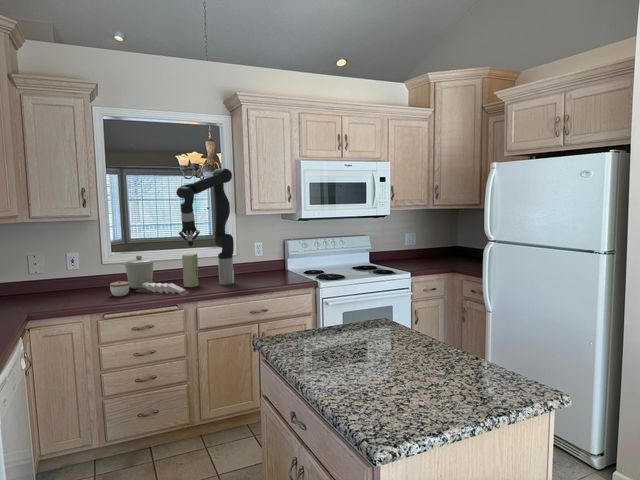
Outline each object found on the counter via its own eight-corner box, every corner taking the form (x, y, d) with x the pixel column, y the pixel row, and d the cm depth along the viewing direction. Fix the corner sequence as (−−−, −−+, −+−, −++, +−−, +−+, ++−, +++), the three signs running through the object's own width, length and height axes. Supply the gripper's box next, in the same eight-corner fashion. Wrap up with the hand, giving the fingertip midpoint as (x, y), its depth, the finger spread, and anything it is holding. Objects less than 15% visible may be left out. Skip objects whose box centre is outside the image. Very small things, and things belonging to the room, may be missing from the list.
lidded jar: (111, 298, 261) (109, 283, 260) (110, 295, 271) (109, 279, 270) (131, 296, 266) (129, 280, 265) (129, 293, 276) (128, 277, 274)
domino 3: (167, 289, 275) (153, 282, 277) (162, 290, 270) (148, 284, 272) (166, 291, 275) (152, 284, 277) (161, 293, 271) (147, 286, 273)
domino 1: (154, 288, 277) (140, 288, 280) (149, 290, 273) (135, 290, 275) (154, 290, 278) (141, 291, 280) (149, 292, 273) (135, 292, 275)
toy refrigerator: (194, 288, 286) (192, 255, 284) (183, 287, 288) (181, 255, 286) (199, 285, 294) (198, 253, 292) (189, 285, 296) (187, 253, 293)
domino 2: (160, 288, 276) (147, 282, 278) (155, 290, 271) (142, 283, 273) (160, 291, 276) (146, 284, 279) (155, 292, 272) (141, 286, 274)
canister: (122, 291, 281) (120, 257, 278) (128, 285, 298) (126, 253, 296) (153, 289, 284) (151, 256, 282) (157, 283, 302) (155, 252, 299)
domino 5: (179, 289, 273) (165, 282, 275) (174, 291, 268) (160, 284, 270) (178, 291, 273) (165, 285, 275) (174, 293, 268) (160, 287, 270)
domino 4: (173, 289, 274) (159, 282, 276) (168, 291, 269) (154, 284, 271) (172, 291, 274) (159, 285, 276) (167, 293, 269) (154, 286, 271)
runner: (190, 292, 273) (190, 291, 273) (182, 296, 265) (182, 295, 265) (156, 291, 280) (156, 290, 279) (147, 294, 271) (147, 293, 271)
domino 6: (185, 289, 272) (171, 283, 274) (181, 291, 267) (166, 284, 269) (184, 292, 272) (171, 285, 274) (180, 294, 267) (166, 287, 269)
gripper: (199, 216, 278) (202, 243, 284) (177, 218, 276) (180, 244, 282) (198, 220, 271) (201, 247, 277) (176, 221, 269) (179, 248, 275)
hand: (190, 245), depth 279 cm, fingers closed
